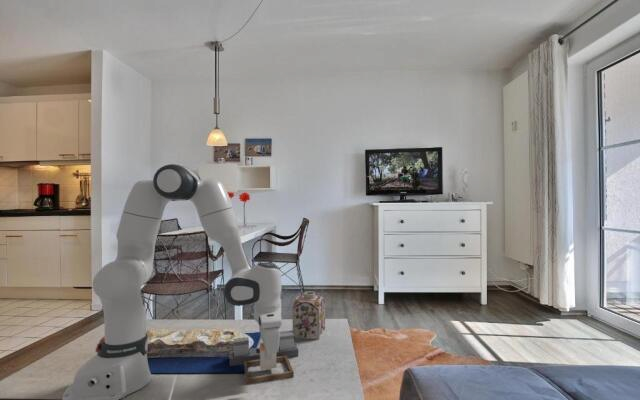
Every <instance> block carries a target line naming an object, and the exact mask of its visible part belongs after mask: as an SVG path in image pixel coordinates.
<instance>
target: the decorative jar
mask: <svg viewBox="0 0 640 400" xmlns="http://www.w3.org/2000/svg"><path fill="white" fill-rule="evenodd" d="M324 331H326V301H325V299H324V297H323V296H321V295H318V294H316V292H314V291H305V292H304V293H303V294H301V295H298V296H296V297H295V299H294V302H293V305H292V332H293V334H294V338H297V339H298V338H300V339H308V340H309V339H311V340H320V338H321V337H322V335H323V334H324Z"/></svg>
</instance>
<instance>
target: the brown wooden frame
mask: <svg viewBox="0 0 640 400" xmlns="http://www.w3.org/2000/svg"><path fill="white" fill-rule="evenodd" d="M283 362H285V363H284V364H285V365H286V368H287V371H284V372H276V373H270V374H263V375H260V376H259V375H258V376H257V375H256V376H251V377H250V376H249V371H248V370H249V369H248V367H256V366H260V359H259V360H252V361H245V362H244V364H243V370H244V375H245V384H246V385H253V384H259V383H265V382H272V381H277V380H283V379H289V378H294V377H295V375H294V373H295V372H294V370H293V367H292V365H291V362H290V361H289V358H287V356H280V357H276V364H277V363H283Z"/></svg>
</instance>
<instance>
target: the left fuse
mask: <svg viewBox="0 0 640 400" xmlns="http://www.w3.org/2000/svg"><path fill="white" fill-rule="evenodd" d="M249 347H250V340H249V337H240V338H233V351H234V357H235V356H243V355H249V349H250V348H249Z"/></svg>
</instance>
